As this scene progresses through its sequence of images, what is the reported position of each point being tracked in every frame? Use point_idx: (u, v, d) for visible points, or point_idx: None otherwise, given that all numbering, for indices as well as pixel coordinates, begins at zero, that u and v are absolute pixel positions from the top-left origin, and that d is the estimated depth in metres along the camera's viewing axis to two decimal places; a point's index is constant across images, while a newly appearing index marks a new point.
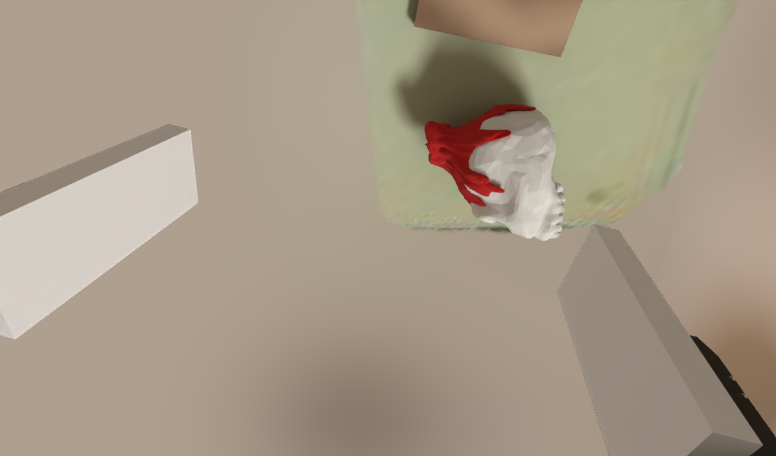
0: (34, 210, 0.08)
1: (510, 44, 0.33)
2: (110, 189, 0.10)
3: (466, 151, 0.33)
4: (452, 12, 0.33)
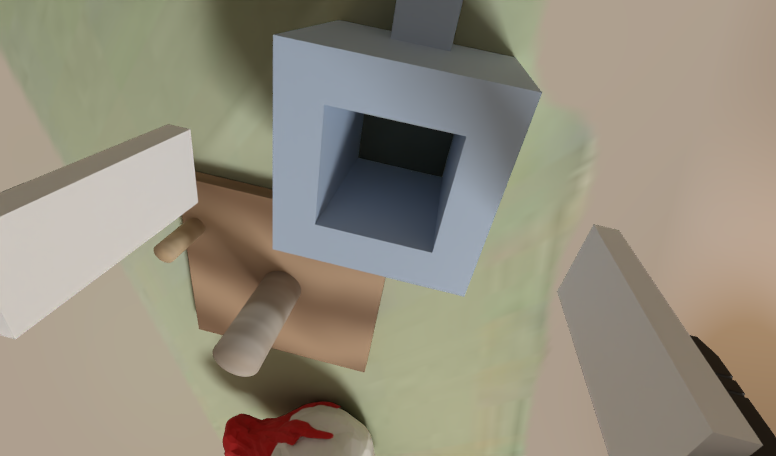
0: (34, 210, 0.08)
1: (307, 355, 0.28)
2: (110, 189, 0.10)
3: None
4: None
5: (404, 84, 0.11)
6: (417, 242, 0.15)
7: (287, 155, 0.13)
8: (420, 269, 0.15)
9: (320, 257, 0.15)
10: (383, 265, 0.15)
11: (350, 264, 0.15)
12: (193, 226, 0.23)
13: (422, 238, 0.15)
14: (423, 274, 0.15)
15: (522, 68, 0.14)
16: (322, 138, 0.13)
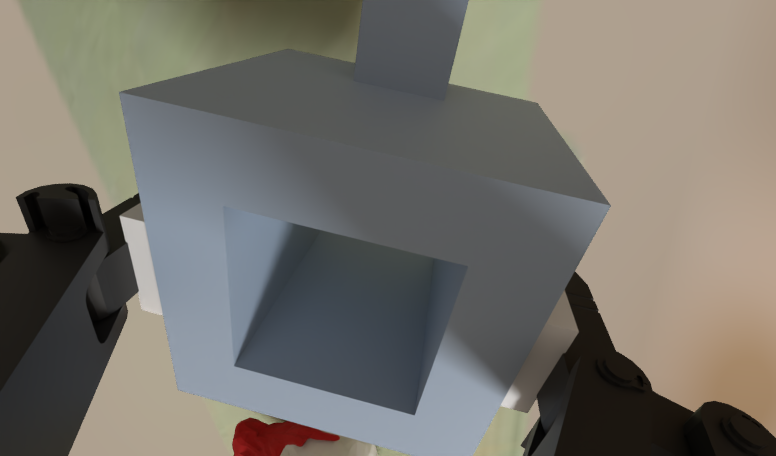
0: None
1: None
2: None
3: None
4: None
5: (356, 181, 0.06)
6: (393, 392, 0.10)
7: (177, 274, 0.08)
8: (396, 432, 0.10)
9: (248, 405, 0.10)
10: (342, 423, 0.10)
11: (292, 417, 0.10)
12: None
13: (401, 382, 0.10)
14: (402, 439, 0.10)
15: (554, 129, 0.09)
16: (230, 252, 0.08)
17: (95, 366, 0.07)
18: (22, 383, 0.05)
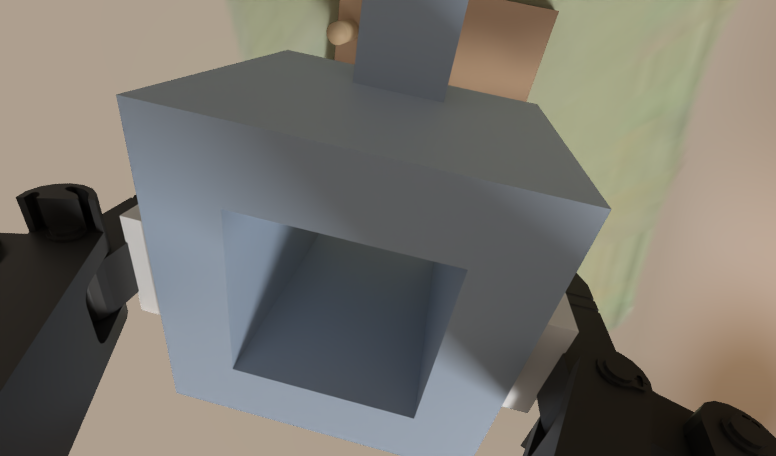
0: None
1: None
2: None
3: None
4: None
5: (355, 184, 0.06)
6: (392, 396, 0.10)
7: (175, 277, 0.08)
8: (395, 436, 0.10)
9: (246, 408, 0.10)
10: (341, 426, 0.10)
11: (291, 420, 0.10)
12: (353, 23, 0.24)
13: (400, 385, 0.10)
14: (402, 442, 0.10)
15: (554, 131, 0.09)
16: (228, 255, 0.08)
17: (94, 366, 0.07)
18: (22, 383, 0.05)
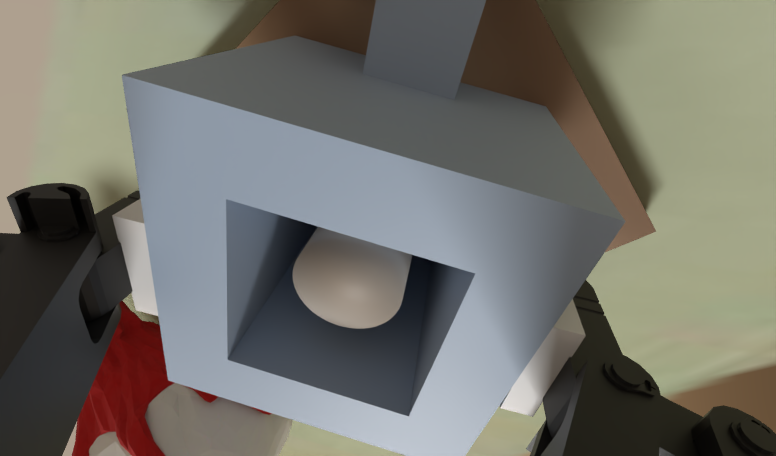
0: None
1: None
2: None
3: (102, 420, 0.16)
4: None
5: (366, 182, 0.06)
6: (388, 393, 0.10)
7: (173, 266, 0.08)
8: (388, 432, 0.10)
9: (239, 399, 0.10)
10: (334, 420, 0.10)
11: (284, 413, 0.10)
12: None
13: (395, 382, 0.10)
14: (394, 439, 0.10)
15: (565, 136, 0.09)
16: (230, 246, 0.08)
17: (87, 367, 0.07)
18: (14, 383, 0.05)
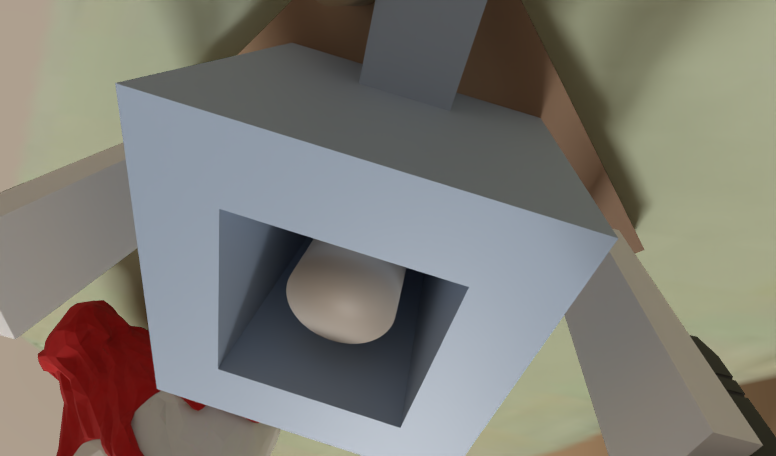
0: (34, 210, 0.08)
1: None
2: (110, 189, 0.10)
3: (87, 428, 0.16)
4: None
5: (361, 194, 0.06)
6: (380, 403, 0.09)
7: (164, 274, 0.08)
8: (380, 443, 0.10)
9: (229, 408, 0.10)
10: (325, 430, 0.10)
11: (275, 423, 0.10)
12: None
13: (387, 392, 0.10)
14: (386, 450, 0.10)
15: (559, 149, 0.09)
16: (222, 255, 0.07)
17: None
18: None
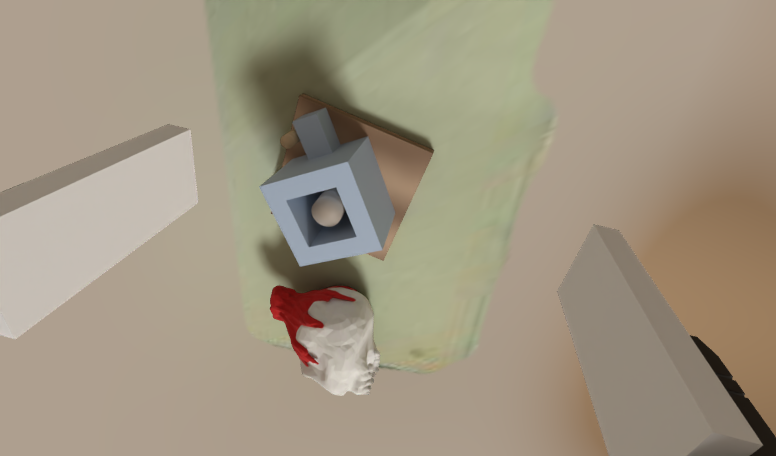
0: (34, 210, 0.08)
1: None
2: (110, 189, 0.10)
3: (295, 324, 0.40)
4: None
5: (305, 181, 0.30)
6: (351, 235, 0.32)
7: (284, 224, 0.32)
8: (357, 246, 0.32)
9: (318, 261, 0.34)
10: (343, 251, 0.33)
11: (331, 258, 0.33)
12: None
13: (354, 233, 0.32)
14: (360, 248, 0.32)
15: (360, 145, 0.32)
16: (292, 212, 0.32)
17: None
18: None
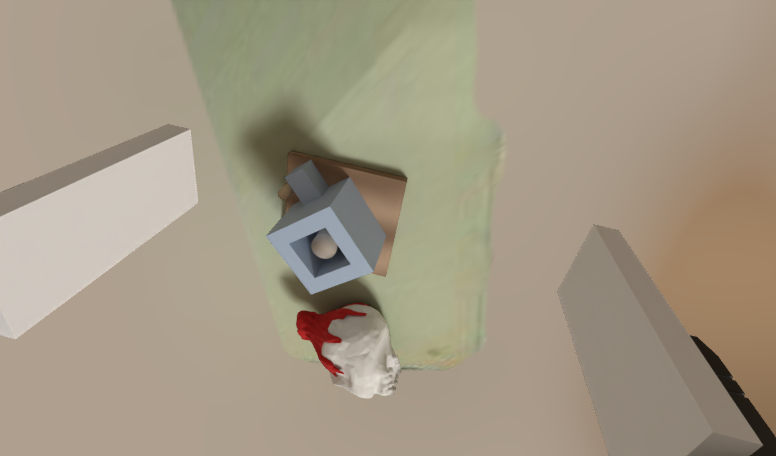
0: (34, 210, 0.08)
1: None
2: (110, 189, 0.10)
3: (319, 342, 0.47)
4: None
5: (300, 226, 0.36)
6: (347, 263, 0.38)
7: (291, 262, 0.39)
8: (353, 271, 0.38)
9: (325, 287, 0.40)
10: (343, 277, 0.39)
11: (334, 284, 0.39)
12: None
13: (349, 261, 0.39)
14: (356, 273, 0.38)
15: (341, 188, 0.38)
16: (295, 252, 0.38)
17: None
18: None
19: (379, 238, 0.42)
